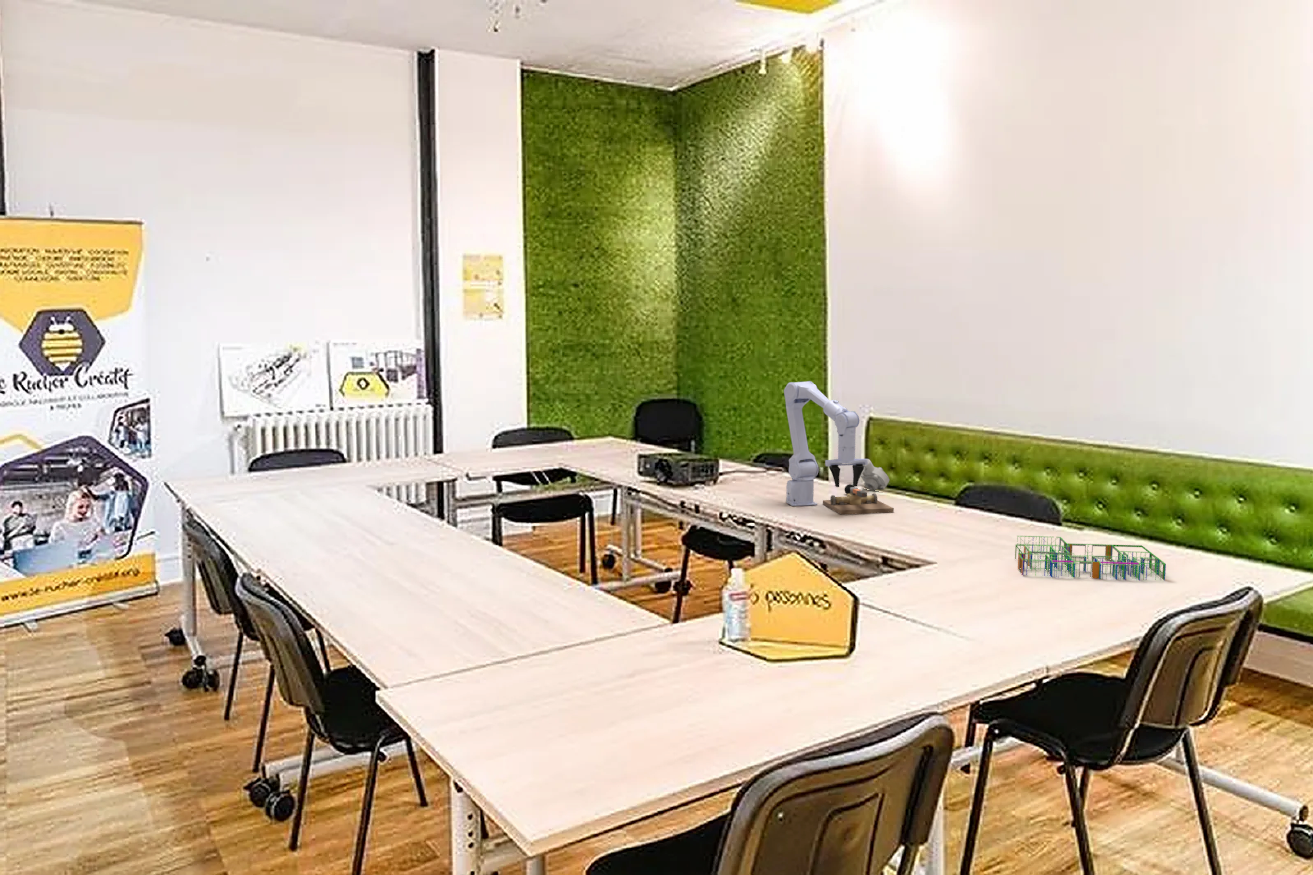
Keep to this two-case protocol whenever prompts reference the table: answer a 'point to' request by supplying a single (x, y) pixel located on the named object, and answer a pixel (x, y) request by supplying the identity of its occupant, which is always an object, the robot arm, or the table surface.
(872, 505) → the valve board
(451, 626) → the table surface
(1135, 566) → the house model
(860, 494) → the valve lever
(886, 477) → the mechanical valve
